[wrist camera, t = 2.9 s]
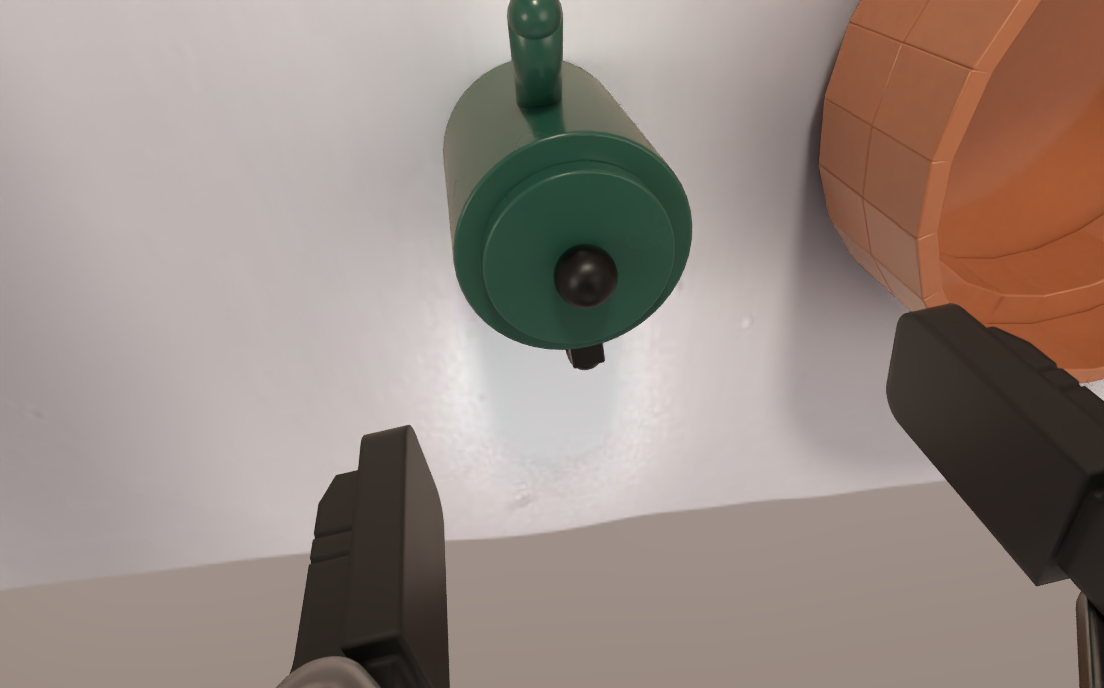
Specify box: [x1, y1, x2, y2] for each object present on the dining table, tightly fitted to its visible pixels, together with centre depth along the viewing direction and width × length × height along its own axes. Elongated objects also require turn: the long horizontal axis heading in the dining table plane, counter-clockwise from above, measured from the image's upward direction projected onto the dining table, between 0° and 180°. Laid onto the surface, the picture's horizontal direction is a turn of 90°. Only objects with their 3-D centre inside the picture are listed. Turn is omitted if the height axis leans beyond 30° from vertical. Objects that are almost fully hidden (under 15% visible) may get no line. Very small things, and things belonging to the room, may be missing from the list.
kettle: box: [443, 0, 692, 370], centre depth 17 cm, size 10×6×8 cm, turn 9°
